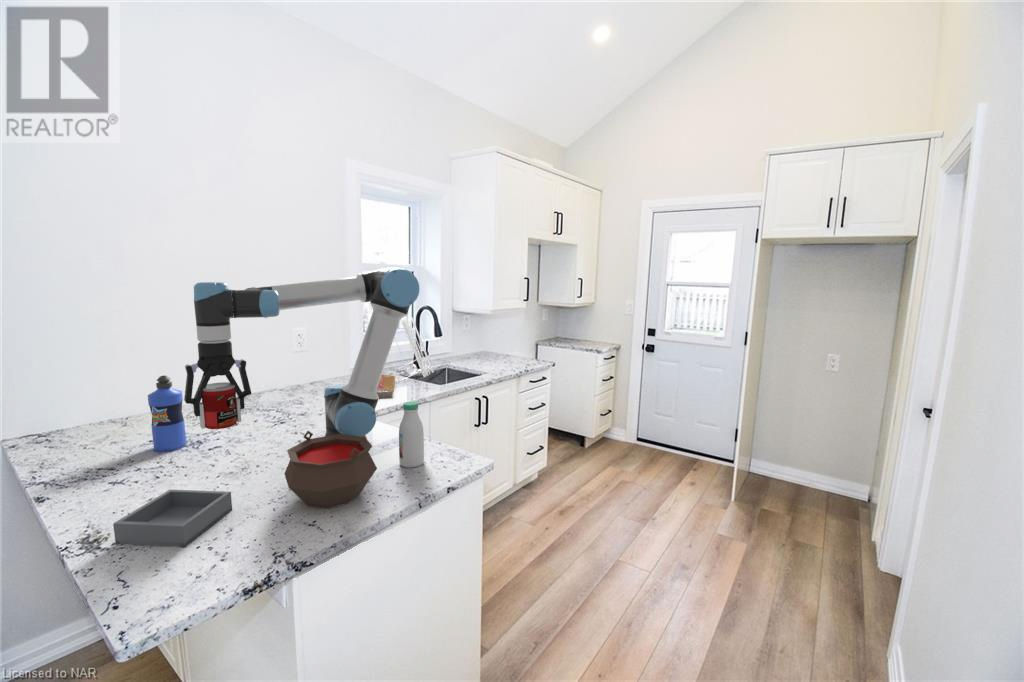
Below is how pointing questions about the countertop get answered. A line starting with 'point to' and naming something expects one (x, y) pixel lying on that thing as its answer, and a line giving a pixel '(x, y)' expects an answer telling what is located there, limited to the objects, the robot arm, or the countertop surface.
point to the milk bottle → (411, 437)
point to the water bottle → (167, 416)
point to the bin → (173, 518)
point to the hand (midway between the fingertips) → (221, 423)
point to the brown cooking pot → (329, 469)
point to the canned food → (219, 405)
